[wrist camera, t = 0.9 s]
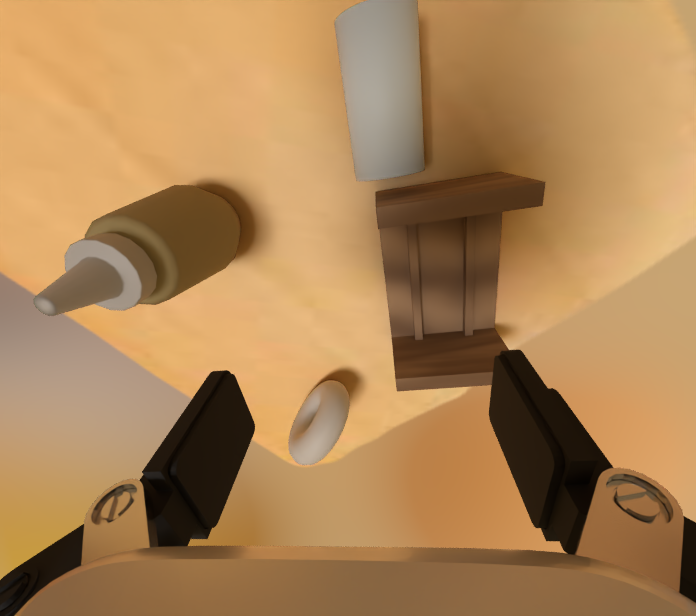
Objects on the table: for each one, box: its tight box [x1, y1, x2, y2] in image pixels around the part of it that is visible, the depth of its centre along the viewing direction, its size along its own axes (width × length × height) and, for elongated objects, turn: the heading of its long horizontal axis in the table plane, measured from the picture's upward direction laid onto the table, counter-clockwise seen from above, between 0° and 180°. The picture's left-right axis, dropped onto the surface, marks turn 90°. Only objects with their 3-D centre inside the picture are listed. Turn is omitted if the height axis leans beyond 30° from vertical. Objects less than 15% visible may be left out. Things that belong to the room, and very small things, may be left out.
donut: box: [289, 380, 350, 465], centre depth 36 cm, size 10×4×10 cm, turn 144°
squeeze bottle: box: [34, 185, 241, 316], centre depth 23 cm, size 8×8×18 cm
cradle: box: [375, 172, 545, 391], centre depth 28 cm, size 17×11×8 cm, turn 9°
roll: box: [334, 0, 425, 181], centre depth 23 cm, size 10×6×6 cm, turn 9°
